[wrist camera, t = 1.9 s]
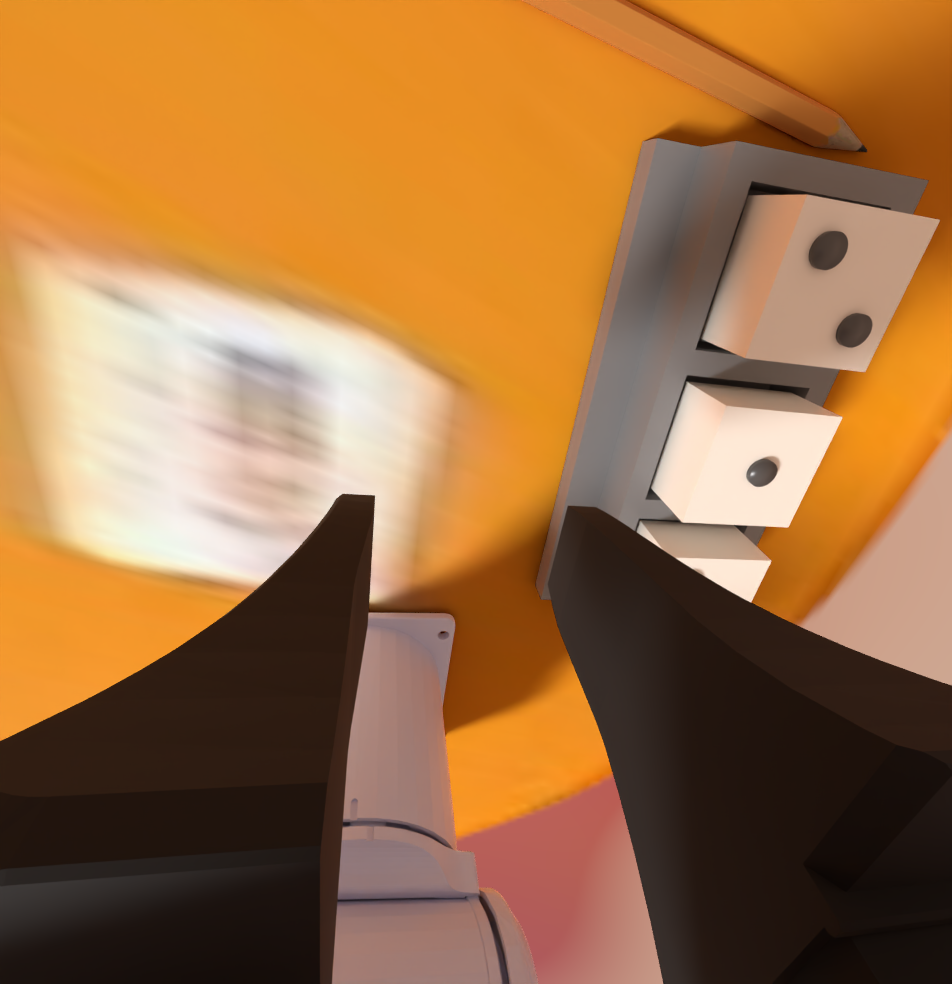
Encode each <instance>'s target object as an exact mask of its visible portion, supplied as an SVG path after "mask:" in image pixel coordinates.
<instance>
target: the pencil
mask: <svg viewBox="0 0 952 984" xmlns="http://www.w3.org/2000/svg"><path fill="white" fill-rule="evenodd" d="M522 1H524V2H526V3H528V4H530V5H532V6H534V7H536V8H538V9H540V10H542V11H544V12H546V13H548V14H550V15H552V16H554V17H556V18H558V19H560V20H562V21H564V22H566V23H568V24H570V25H572V26H574V27H576V28H578V29H580V30H581V31H583V32H585V33H587V34H589V35H591V36H593V37H595V38H597V39H599V40H601V41H603V42H605V43H607V44H609V45H611V46H613V47H615V48H617V49H619V50H621V51H623V52H625V53H627V54H629V55H631V56H633V57H635V58H637V59H639V60H641V61H643V62H645V63H647V64H649V65H651V66H653V67H655V68H657V69H659V70H661V71H663V72H665V73H667V74H669V75H671V76H673V77H675V78H677V79H679V80H681V81H683V82H685V83H687V84H689V85H691V86H693V87H695V88H697V89H699V90H701V91H703V92H705V93H707V94H709V95H711V96H713V97H715V98H717V99H719V100H721V101H723V102H725V103H727V104H729V105H731V106H733V107H735V108H737V109H739V110H741V111H743V112H745V113H747V114H749V115H751V116H753V117H755V118H757V119H759V120H761V121H763V122H765V123H767V124H769V125H771V126H773V127H775V128H777V129H779V130H781V131H783V132H785V133H787V134H789V135H791V136H793V137H795V138H797V139H799V140H801V141H803V142H805V143H807V144H809V145H811V146H813V147H820V148H830V149H840V150H850V151H860V152H867V149H866V148H865V147H864V145H863V144H862V143H861V142H860V140H859V139H858V138H857V137H856V135H855V134H854V133H853V131H852V130H851V129H850V128H849V126H848V125H847V124H846V122H845V121H844V120H843V119H842V117H841V116H840V115H839V114H837V113H836V112H835V111H833V110H831V109H829V108H828V107H826V106H824V105H822V104H820V103H818V102H816V101H814V100H812V99H811V98H809V97H807V96H805V95H803V94H801V93H799V92H797V91H796V90H794V89H792V88H790V87H788V86H786V85H784V84H782V83H781V82H779V81H777V80H775V79H773V78H771V77H769V76H767V75H766V74H764V73H762V72H760V71H758V70H756V69H754V68H752V67H750V66H749V65H747V64H745V63H743V62H741V61H739V60H737V59H735V58H734V57H732V56H730V55H728V54H726V53H724V52H722V51H720V50H719V49H717V48H715V47H713V46H711V45H709V44H707V43H705V42H704V41H702V40H700V39H698V38H696V37H694V36H692V35H690V34H688V33H687V32H685V31H683V30H681V29H679V28H677V27H675V26H673V25H672V24H670V23H668V22H666V21H664V20H662V19H660V18H658V17H657V16H655V15H653V14H651V13H649V12H647V11H645V10H643V9H642V8H640V7H638V6H636V5H634V4H632V3H630V2H628V1H626V0H522Z"/></svg>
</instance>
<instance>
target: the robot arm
mask: <svg viewBox="0 0 952 984" xmlns="http://www.w3.org/2000/svg"><path fill="white" fill-rule="evenodd" d="M374 505H375V496H373V495H353V494H342V495H341V496H339V497H338V498H337V499H336V500H335V502H334V504H333V505H332V507H331V508H330V510H329V511H328V513H327V514H326V515H325V517H324V518H323V519H322V521H321V522H320V523H319V524H318V526H317V527H316V528H315V529H314V531H313V532H312V533H311V534H310V535H309V536H308V538H307V539H306V540H305V541H304V542H303V543H302V545H301V546H300V547H299V548H298V549H297V550H296V551H295V552H294V553H293V555H292V556H291V557H290V558H289V559H287V560H286V561H285V562H284V563H283V564H282V565H281V566H280V567H279V568H278V569H277V570H276V571H275V572H274V573H273V574H272V575H271V576H270V577H269V578H268V579H267V580H266V581H265V582H264V583H263V584H262V585H261V586H260V587H258V588H257V589H256V590H255V591H254V592H253V593H252V594H250V595H249V596H248V597H247V598H246V599H244V600H243V601H242V602H241V603H239V604H238V605H237V606H236V607H235V608H233V609H232V610H231V611H230V612H228V613H227V614H226V615H224V616H223V617H222V618H220V619H219V620H217V621H216V622H215V623H213V624H212V625H210V626H209V627H207V628H206V629H205V630H203V631H202V632H200V633H199V634H197V635H196V636H194V637H193V638H191V639H190V640H188V641H187V642H185V643H184V644H183V645H181V646H180V647H178V648H176V649H175V650H173V651H172V652H170V653H168V654H167V655H165V656H163V657H162V658H160V659H158V660H157V661H155V662H153V663H152V664H150V665H148V666H147V667H145V668H143V669H142V670H140V671H138V672H136V673H134V674H133V675H131V676H129V677H127V678H125V679H124V680H122V681H120V682H118V683H116V684H115V685H113V686H111V687H109V688H107V689H106V690H104V691H102V692H100V693H98V694H96V695H94V696H92V697H90V698H88V699H87V700H85V701H83V702H81V703H78V704H76V705H74V706H72V707H70V708H68V709H66V710H64V711H62V712H60V713H58V714H56V715H54V716H52V717H50V718H48V719H45V720H43V721H41V722H39V723H37V724H35V725H33V726H31V727H29V728H27V729H25V730H23V731H21V732H19V733H17V734H15V735H12V736H10V737H8V738H6V739H4V740H2V741H0V984H538V980H537V975H536V970H535V966H534V962H533V958H532V955H531V951H530V948H529V945H528V942H527V939H526V937H525V934H524V932H523V930H522V927H521V925H520V924H519V922H518V920H517V919H516V917H515V916H514V914H513V913H512V912H511V910H510V908H509V906H508V904H507V902H506V901H505V900H504V898H503V897H502V896H501V894H500V893H499V892H497V891H496V890H494V889H492V888H479V885H478V877H477V869H476V862H475V854H474V853H473V852H471V851H459V850H457V844H456V835H455V825H454V816H453V806H452V796H451V787H450V777H449V768H448V758H447V748H446V739H445V729H444V719H443V710H442V707H443V701H444V694H445V688H446V682H447V676H448V669H449V663H450V657H451V651H452V644H453V638H454V632H455V620H454V617H453V616H452V615H450V614H447V613H369V595H370V577H371V559H372V542H373V524H374ZM548 588H549V593H550V597H551V602H552V606H553V610H554V614H555V618H556V621H557V625H558V628H559V631H560V633H561V636H562V638H563V641H564V644H565V646H566V649H567V651H568V654H569V656H570V659H571V661H572V664H573V666H574V668H575V671H576V673H577V676H578V678H579V681H580V683H581V686H582V688H583V690H584V693H585V695H586V698H587V700H588V703H589V705H590V708H591V710H592V712H593V715H594V717H595V720H596V722H597V725H598V728H599V731H600V733H601V736H602V739H603V742H604V745H605V748H606V751H607V755H608V758H609V762H610V765H611V769H612V772H613V775H614V779H615V782H616V786H617V789H618V792H619V796H620V800H621V804H622V808H623V811H624V815H625V819H626V823H627V826H628V830H629V834H630V838H631V842H632V845H633V849H634V853H635V857H636V862H637V866H638V870H639V874H640V878H641V882H642V887H643V891H644V895H645V900H646V904H647V908H648V912H649V917H650V921H651V926H652V930H653V935H654V940H655V945H656V949H657V955H658V959H659V964H660V969H661V974H662V978H663V984H952V686H951V685H948V684H945V683H942V682H939V681H936V680H933V679H930V678H927V677H925V676H922V675H919V674H916V673H914V672H911V671H908V670H905V669H903V668H900V667H897V666H894V665H891V664H889V663H886V662H883V661H880V660H878V659H875V658H873V657H870V656H868V655H865V654H862V653H860V652H857V651H855V650H852V649H850V648H848V647H845V646H843V645H840V644H838V643H836V642H834V641H831V640H829V639H827V638H824V637H822V636H820V635H817V634H815V633H813V632H810V631H808V630H806V629H804V628H801V627H799V626H797V625H795V624H793V623H791V622H789V621H786V620H784V619H782V618H780V617H778V616H776V615H774V614H772V613H770V612H768V611H767V610H765V609H763V608H761V607H759V606H757V605H755V604H753V603H751V602H749V601H747V600H745V599H743V598H741V597H740V596H738V595H736V594H734V593H732V592H730V591H729V590H727V589H725V588H723V587H722V586H720V585H718V584H717V583H715V582H713V581H712V580H710V579H708V578H707V577H705V576H703V575H702V574H700V573H698V572H697V571H695V570H694V569H692V568H690V567H689V566H687V565H686V564H684V563H682V562H681V561H679V560H678V559H676V558H675V557H673V556H672V555H670V554H669V553H667V552H666V551H664V550H663V549H661V548H660V547H658V546H657V545H655V544H654V543H652V542H651V541H649V540H648V539H646V538H645V537H643V536H642V535H640V534H639V533H637V532H636V531H634V530H633V529H631V528H630V527H628V526H627V525H625V524H624V523H622V522H621V521H619V520H618V519H616V518H614V517H613V516H611V515H610V514H608V513H606V512H604V511H603V510H601V509H599V508H597V507H587V506H568V507H567V510H566V514H565V518H564V522H563V526H562V530H561V534H560V538H559V542H558V546H557V550H556V553H555V557H554V561H553V565H552V569H551V573H550V577H549V581H548ZM441 631H446V633H442V634H441V633H440V632H441Z"/></svg>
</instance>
